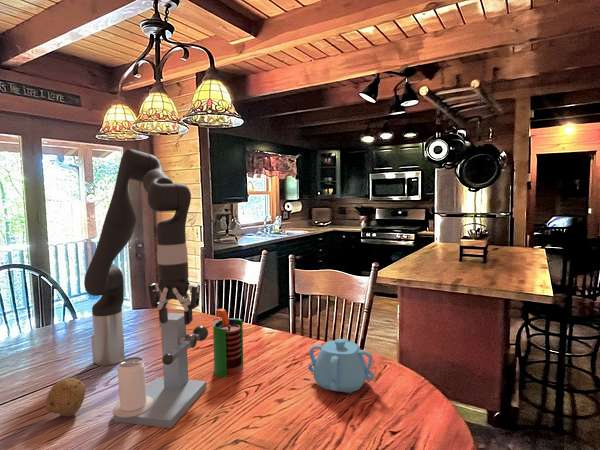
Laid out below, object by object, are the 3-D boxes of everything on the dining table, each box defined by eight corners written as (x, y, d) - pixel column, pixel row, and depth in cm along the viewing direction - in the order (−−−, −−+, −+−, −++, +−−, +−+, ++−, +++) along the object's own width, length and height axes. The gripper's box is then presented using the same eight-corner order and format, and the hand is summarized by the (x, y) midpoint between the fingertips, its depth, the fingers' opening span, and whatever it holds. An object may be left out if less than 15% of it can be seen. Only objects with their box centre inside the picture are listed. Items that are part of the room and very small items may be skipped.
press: (104, 422, 99) (98, 337, 97) (152, 382, 119) (148, 311, 117) (168, 430, 95) (164, 342, 93) (206, 387, 115) (203, 314, 113)
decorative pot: (353, 368, 126) (352, 327, 125) (378, 392, 111) (378, 345, 110) (306, 377, 121) (305, 334, 120) (326, 403, 106) (325, 354, 105)
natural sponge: (46, 430, 96) (43, 392, 95) (47, 413, 103) (44, 377, 103) (88, 418, 101) (85, 381, 100) (85, 403, 108) (83, 368, 107)
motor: (235, 378, 121) (233, 316, 119) (209, 376, 123) (206, 314, 121) (246, 364, 131) (244, 306, 129) (221, 362, 132) (219, 305, 131)
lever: (157, 369, 98) (156, 352, 97) (197, 337, 119) (196, 323, 118) (173, 370, 97) (172, 353, 96) (210, 338, 118) (210, 323, 117)
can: (126, 399, 105) (123, 356, 104) (150, 398, 106) (147, 355, 105) (115, 412, 99) (112, 367, 98) (141, 411, 99) (138, 366, 98)
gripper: (204, 258, 103) (207, 320, 104) (156, 257, 106) (159, 317, 107) (191, 263, 96) (194, 329, 97) (139, 262, 99) (143, 326, 100)
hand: (176, 323), depth 102 cm, fingers open, 6 cm apart
